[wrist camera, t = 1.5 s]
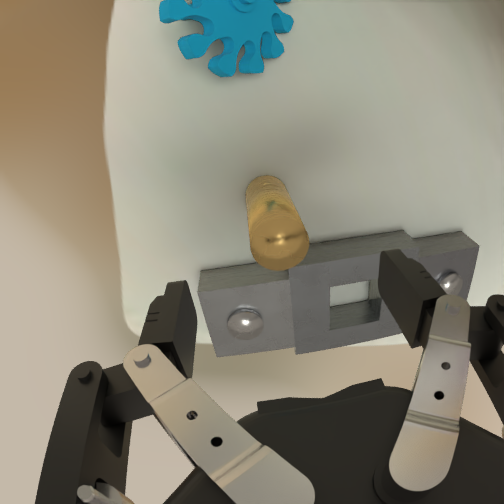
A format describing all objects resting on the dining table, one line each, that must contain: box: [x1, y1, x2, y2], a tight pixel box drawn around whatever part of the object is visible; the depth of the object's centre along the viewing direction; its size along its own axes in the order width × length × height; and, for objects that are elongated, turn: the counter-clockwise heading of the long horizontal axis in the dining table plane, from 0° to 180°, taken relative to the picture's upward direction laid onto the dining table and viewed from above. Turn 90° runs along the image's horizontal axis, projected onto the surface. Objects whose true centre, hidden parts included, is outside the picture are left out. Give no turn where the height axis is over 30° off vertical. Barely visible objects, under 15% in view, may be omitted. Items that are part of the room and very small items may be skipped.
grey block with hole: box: [198, 230, 479, 357], centre depth 26 cm, size 24×9×4 cm, turn 98°
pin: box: [246, 175, 309, 271], centre depth 20 cm, size 3×3×8 cm
